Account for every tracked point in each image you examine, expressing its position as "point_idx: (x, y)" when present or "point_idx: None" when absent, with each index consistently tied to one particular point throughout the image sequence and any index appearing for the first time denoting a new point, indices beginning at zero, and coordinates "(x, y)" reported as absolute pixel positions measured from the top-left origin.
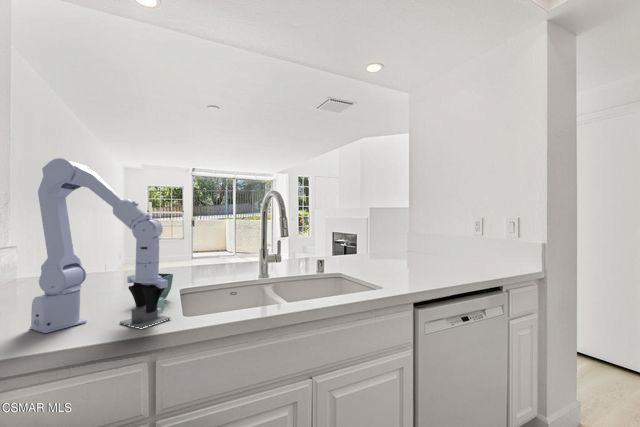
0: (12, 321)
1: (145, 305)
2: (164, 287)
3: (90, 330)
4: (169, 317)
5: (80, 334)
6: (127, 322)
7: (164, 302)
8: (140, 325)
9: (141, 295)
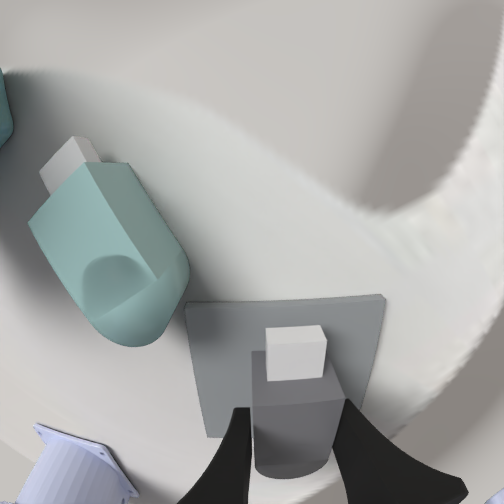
0: (9, 443)
1: (260, 431)
2: (497, 496)
3: (195, 473)
4: (374, 302)
5: None
6: None
7: (83, 140)
8: None
9: (246, 502)
